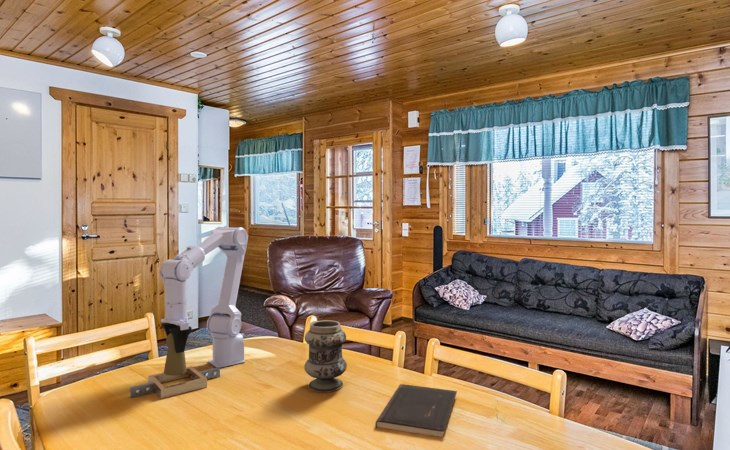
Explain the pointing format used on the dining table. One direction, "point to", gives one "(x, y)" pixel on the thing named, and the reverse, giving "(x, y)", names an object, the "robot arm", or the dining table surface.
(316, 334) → the apothecary jar
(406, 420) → the hardcover book
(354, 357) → the dining table surface
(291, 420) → the dining table surface
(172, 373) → the cork
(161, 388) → the square frame
